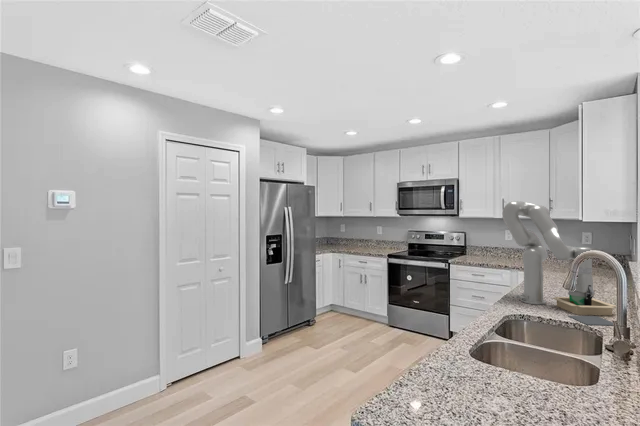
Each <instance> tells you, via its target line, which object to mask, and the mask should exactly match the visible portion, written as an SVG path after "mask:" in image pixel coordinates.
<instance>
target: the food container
mask: <svg viewBox="0 0 640 426" xmlns="http://www.w3.org/2000/svg"><path fill="white" fill-rule="evenodd" d="M586 293H587V292H586ZM567 295H568V297H569V299H570V303H572V304H575V305H580V306H584V299H586V298H585V294H584V293H581V292H574V290H572V291H571V290H568V292H567ZM588 295H589V294H587V296H588Z"/></svg>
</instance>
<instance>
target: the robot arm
mask: <svg viewBox="0 0 640 426" xmlns="http://www.w3.org/2000/svg"><path fill="white" fill-rule="evenodd" d="M501 214H502V219H503V222H504V224H505V225H506V227H507V228H508V231H509V233H510V234H511V237H512V238H513V240H514V242H515V243H516V244H517V246H520V247H524V248H525V250H524V251H523V253H522V264H523V292H522V293H521V294H514V297H515V299H520V301H521V302H522V303H525V304H528V305H529V304H530V305H538V306H541V305H546V304H547V301H546V300H545V299H544V267H543V262H545V261H546V260H547V258H548V256H549V255H548V252H547V249H546V247H545V246H544V245H543V243H542V241H541V239H540V238H539V236H538V235H537V234H536V232H534V231H532V230H529V229H528V228H527V227H526V225H525V224H524V222H523V220H521V218H520V217H519V216H522V217H526V218H530V220H531V221H532V222H533V224H534V225H535V227H536V228H537V229H538V230H539V232H540V234H541V235H542V238H543V240H544V242H545V244H546V246H547V247H548V249H549V250H550V252H551V253H552V255H553V256H554V257H555V258H556V259H557V260H559V261H562V262H565V261H569V260H574V259H575V258H576V257H577V256H578V255H580V254H581V253H583V252H586V251H590V250H592V248H591V247H587V246H584V247H583V246H578V247H577V246H572V245H566V244H565V242H564V241H563V240H562V238H561V237H560V234H559V228H558V225H557V224H556V223H555V222H554V220H553V219H552V218H551V216H550V210H549V209H548V208H547V206H545V205H539V204H534V203H530V202H525V201H519V200H517V201H516V200H513V201H509V202H508V203H507V204H505V206H504V207H503V209H502V213H501ZM592 274H593V258H592V259H588V260H585V261H584V262H583V263H582V264H581V265H580V268H579V272H578V278H577V284H576V290H575V291H574V290H573V292H581V293H584V294H585V298H586V299H584V306H592V298H594V296H595V294H596V292H595V291H594V282H593V281H594V279H593V275H592ZM586 292H587V293H586ZM587 294H589V295H588V296H587Z"/></svg>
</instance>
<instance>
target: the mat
mask: <svg viewBox="0 0 640 426" xmlns="http://www.w3.org/2000/svg"><path fill="white" fill-rule="evenodd" d="M567 317H568V318H571V319H572V318H573V320H574V319H575V320H574V321H577V322H579V323H581V322H582V323H581V324H583V323H584V325H585V324H586V326H602V327H603V326H608V327H609V326H612V327H613V323H614V322H613V321H610V320H607V319H605V318H603V317H601V316H599V315H567Z"/></svg>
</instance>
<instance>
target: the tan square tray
mask: <svg viewBox="0 0 640 426" xmlns="http://www.w3.org/2000/svg"><path fill="white" fill-rule="evenodd" d="M552 299H553V300H555V301H556V307H558V308H561V309H562V310H565V311H566V312H570V313H573V314H574V315H575V316H613V309H615V308H617V307H616V305H614V304H611V303H608V302H606V301H603V300H599V299H597V298H594V297H592V306H580V305H575V304H572V303H570V299H569V296H555V297H552Z"/></svg>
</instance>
